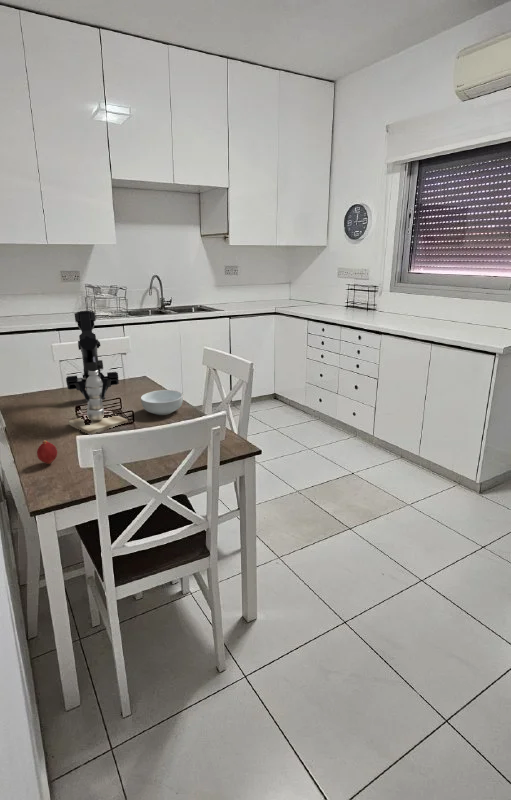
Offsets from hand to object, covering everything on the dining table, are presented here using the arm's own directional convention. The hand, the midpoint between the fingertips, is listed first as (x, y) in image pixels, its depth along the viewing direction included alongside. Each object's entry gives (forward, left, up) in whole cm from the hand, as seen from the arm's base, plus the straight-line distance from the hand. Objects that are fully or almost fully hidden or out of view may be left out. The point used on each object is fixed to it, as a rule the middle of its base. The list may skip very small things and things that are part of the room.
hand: (95, 399), depth 175 cm
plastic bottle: (0, -2, -9) cm, 9 cm away
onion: (+27, +20, -11) cm, 35 cm away
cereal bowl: (-26, +6, -11) cm, 28 cm away
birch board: (-1, -1, -10) cm, 10 cm away
